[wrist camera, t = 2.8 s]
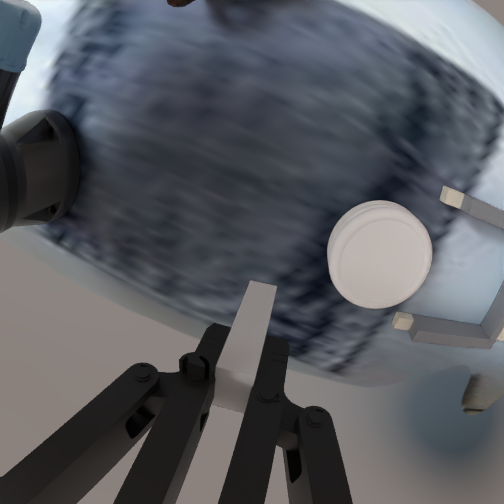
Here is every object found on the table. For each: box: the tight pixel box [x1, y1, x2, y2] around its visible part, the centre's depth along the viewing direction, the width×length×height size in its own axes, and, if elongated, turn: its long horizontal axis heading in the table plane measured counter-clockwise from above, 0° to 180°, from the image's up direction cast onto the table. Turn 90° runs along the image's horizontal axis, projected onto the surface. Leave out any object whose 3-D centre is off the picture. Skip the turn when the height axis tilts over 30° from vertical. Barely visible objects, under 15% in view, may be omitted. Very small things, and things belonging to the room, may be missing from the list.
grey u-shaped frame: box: [392, 185, 504, 349], centre depth 23 cm, size 18×16×3 cm
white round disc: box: [327, 200, 432, 309], centre depth 25 cm, size 10×10×4 cm
